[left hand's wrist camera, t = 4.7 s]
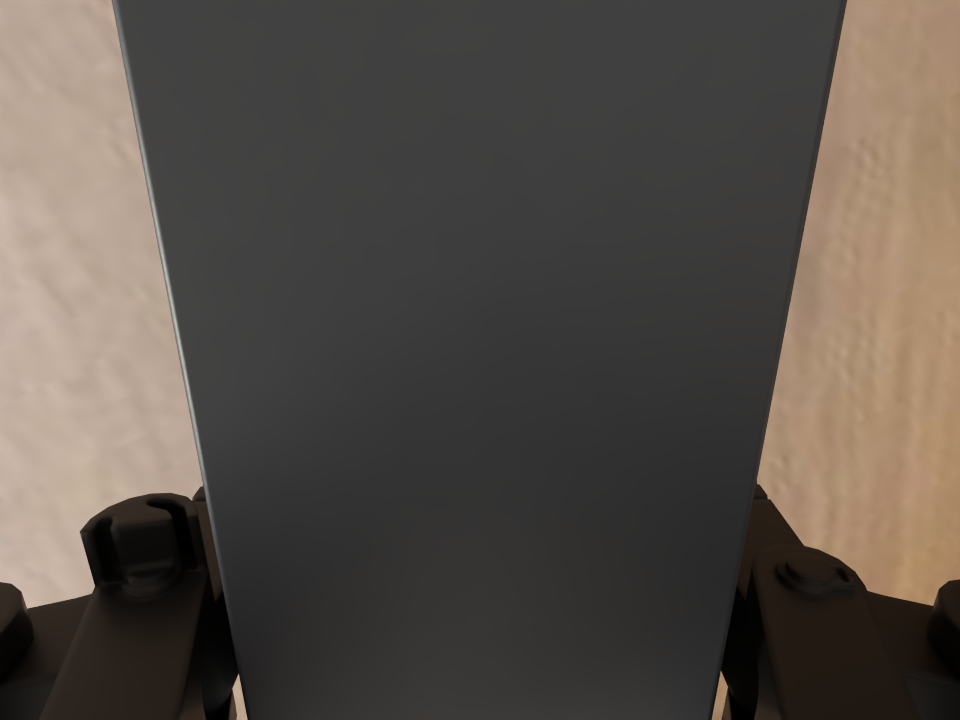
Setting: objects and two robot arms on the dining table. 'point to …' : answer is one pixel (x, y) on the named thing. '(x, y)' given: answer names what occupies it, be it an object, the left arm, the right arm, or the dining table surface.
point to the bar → (479, 332)
